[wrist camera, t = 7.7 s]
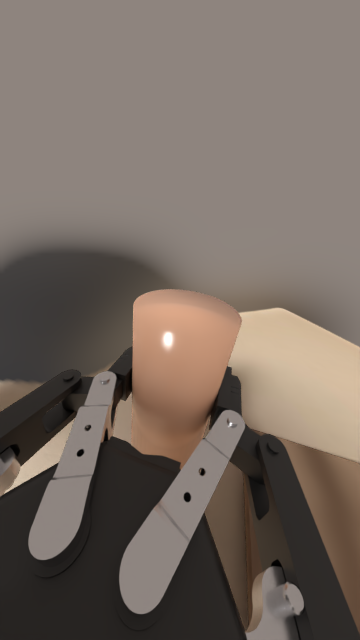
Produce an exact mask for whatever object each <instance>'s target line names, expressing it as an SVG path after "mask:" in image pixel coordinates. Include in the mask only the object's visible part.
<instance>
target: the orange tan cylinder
mask: <svg viewBox="0 0 360 640" xmlns="http://www.w3.org/2000/svg"><path fill="white" fill-rule="evenodd" d="M241 322H242V320H241V317H240V315H239V313H238V312H237V311H236V310H235V309H234V308H233V307H231V306H230V305H228V304H227V303H225V302H224V301H221V300H219V299H217V298H215V297H212V296H209V295H206V294H202V293H198V292H193V291H187V290H177V289H167V290H157V291H152V292H148V293H145V294H143V295H141V296H140V297H138V298H137V299H136V301H135V302H134V305H133V361H132V426H131V445H132V446H133V447H134V448H136V449H137V450H138V451H139V452H141V453H142V454H147V455H161V456H165V457H168V458H170V459H173V460H176V461H178V462H181V465H180V469H182V468H183V467H184V465H185V464H186V462H187V461H188V459H189V458H190V456H191V455H192V453H193V452H194V450H195V449H196V447H197V446H198V444H199V443H200V442H201V440H202V439H203V436H204V433H205V430H206V427H207V424H208V421H209V418H210V415H211V412H212V409H213V406H214V403H215V400H216V397H217V394H218V391H219V389H220V386H221V383H222V380H223V377H224V374H225V371H226V368H227V365H228V362H229V359H230V356H231V353H232V350H233V347H234V344H235V341H236V338H237V335H238V332H239V329H240V327H241Z"/></svg>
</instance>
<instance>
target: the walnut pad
mask: <svg viewBox="0 0 360 640" xmlns="http://www.w3.org/2000/svg"><path fill="white" fill-rule="evenodd" d="M251 430H253V429H251ZM253 431H254V432H256V433H257V434H259V435H260V436H262V435H263V434H266V433H263V432H260V431H256V430H253ZM276 438H278V437H276ZM278 439H279V440H280V441H281V442H282V443H283V444H284V446H285V448H286V450H287V452H288V455H289V457H290V460H291V462H292V465H293V467H294V470H295V472H296V475H297V477H298V480H299V483H300V485H301V488H302V490H303V493H304V495H305V498H306V500H307V503H308V505H309V508H310V510H311V513H312V515H313V518H314V520H315V523H316V525H317V528H318V530H319V533H320V536H321V538H322V541H323V543H324V546H325V548H326V551H327V553H328V556H329V558H330V561H331V563H332V566H333V568H334V571H335V573H336V576H337V578H338V581H339V583H340V586H341V589H342V591H343V594H344V596H345V599H346V601H347V604H348V606H349V609H350V611H351V614H352V616H353V619H354V621H355V624H356V626H357V629H358V631H359V634H360V463H356V462H353V461H350V460H347V459H344V458H341V457H338V456H335V455H331V454H328V453H325V452H322V451H319V450H316V449H313V448H310V447H306V446H303V445H300V444H297V443H294V442H291V441H288V440H285V439H281V438H278ZM244 499H245V529H246V559H247V589H248V619H249V625H250V622H251V619H252V613H253V603H252V587H253V583H254V580H255V578H256V577H257V575H259V574H260V573H262V567H261V561H260V556H259V551H258V545H257V540H256V535H255V530H254V524H253V519H252V514H251V509H250V503H249V498H248V493H247V487H246V482H245V477H244Z"/></svg>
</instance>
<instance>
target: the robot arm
mask: <svg viewBox="0 0 360 640" xmlns="http://www.w3.org/2000/svg"><path fill="white" fill-rule="evenodd" d="M132 361H133V346H132V347H131V348H128V349H127V350H126V351H125V352H124V353H123V355H121V356H120V358H119V359H118V360H117V361H116V362H115V363H114V364H113V365H112V366H111V368H110V369H109V370H108V371H105V372H101V373H99V374H97V375H96V376H95V377H81V373H80V372H79V371H77V370H67V371H64V372H62V373H60V374H59V375H57V376H56V377H54V378H53V379H51V380H50V381H48V382H46V383H45V384H43V385H42V386H40V387H39V388H37V389H35V390H34V391H32V392H31V393H29V394H28V395H26V396H25V397H23V398H21V399H20V400H18V401H17V402H15V403H14V404H12V405H10V406H9V407H7V408H6V409H4V410H3V411H1V412H0V640H360V634H359V631H358V629H357V626H356V624H355V621H354V619H353V616H352V614H351V611H350V609H349V606H348V604H347V601H346V599H345V596H344V594H343V591H342V589H341V586H340V583H339V581H338V578H337V576H336V573H335V571H334V568H333V566H332V563H331V561H330V558H329V556H328V553H327V551H326V548H325V546H324V543H323V541H322V538H321V536H320V533H319V530H318V528H317V525H316V523H315V520H314V518H313V515H312V513H311V510H310V508H309V505H308V503H307V500H306V498H305V495H304V493H303V490H302V488H301V485H300V483H299V480H298V477H297V475H296V472H295V470H294V467H293V465H292V462H291V460H290V457H289V455H288V452H287V450H286V448H285V446H284V444H283V443H282V442H281V441H280V440H279V439H278V438H276V437H275V436H273V435H270V434H263V435H262V436H260V435H259V434H257V433H256V432H254V431H253V430H251V429H250V428H249V427H248V426H247V425H246V424H245V422H244V420H243V418H242V414H241V383H240V381H239V379H238V377H237V376H233V375H231V370H232V368H231V367H228V366H227V368H226V371H225V374H224V377H223V380H222V383H221V386H220V389H219V391H218V394H217V397H216V400H215V403H214V406H213V409H212V412H211V418H210V425H209V430H210V431H209V433H208V434H207V436H206V437H205V438H203V439H202V440H201V442H200V443H199V444H198V446H197V447H196V449H195V450H194V452H193V453H192V455H191V456H190V458H189V459H188V461H187V462H186V464H185V465H184V467H183V468H182V469H180V465H181V462H178V461H176V460H173V459H170V458H168V457H165V456H161V455H147V454H142V453H141V452H139V451H138V450H137V449H136V448H134V447H133V446H132V445H131V444H129V443H128V442H126V441H124V440H121V439H118V438H116V437H113V430H114V424H115V418H116V413H117V407H118V403H119V401H120V400H124V401H126V400H127V398H128V396H129V395H130V393H131V392H132ZM60 401H61V402H60ZM59 402H60V403H59ZM55 405H56V406H55ZM51 408H52V409H51ZM47 411H48V412H47ZM46 412H47V413H46ZM75 417H76V418H75ZM74 418H75V421H74V423H73V426H72V429H71V432H70V434H69V437H68V440H67V442H66V445H65V448H64V450H63V453H62V456H61V458H60V461H59V463H57V464H55V465H54V466H52V467H50V468H48V469H47V470H45V471H43V472H41V473H40V474H38V475H36V476H35V477H33V478H31V479H29V480H28V481H26V482H24V483H22V484H21V485H19V486H17V487H15V488H14V489H12V490H10V491H9V492H7V493H5V494H4V492H5V491H6V490H7V489H9V488H10V487H11V486H12V485H13V483H14V480H15V479H16V477H17V476H18V474H19V471H20V467H21V466H22V465H23V464H24V463H25V462H26V461H27V460H29V459H30V458H31V457H32V456H33V455H34V454H35V453H36V452H37V451H38V450H40V449H41V448H42V447H43V446H44V445H45V444H46V443H47V442H48V441H50V440H51V439H52V438H53V437H54V436H55V435H56V434H57V433H58V432H60V431H61V430H62V429H63V428H64V427H65V426H66V425H67V424H68V423H70V422H71V421H72V420H73V419H74ZM229 461H230V462H232V463H233V464H234V465H235V466H237V467H238V468H239V469H241V470H242V471H243V472H244V477H245V482H246V487H247V493H248V498H249V503H250V509H251V514H252V519H253V524H254V530H255V535H256V540H257V545H258V551H259V556H260V561H261V567H262V573H260V574H259V575H257V577H256V578H255V580H254V583H253V587H252V603H253V613H252V619H251V622H250V625H249V627H248V629H247V630H246V631H245V630H244V627H243V624H242V621H241V618H240V615H239V612H238V609H237V606H236V604H235V601H234V598H233V595H232V592H231V589H230V586H229V583H228V580H227V577H226V575H225V572H224V569H223V566H222V563H221V560H220V557H219V554H218V551H217V548H216V546H215V543H214V540H213V537H212V534H211V531H210V528H209V525H208V522H207V519H206V516H205V514H204V511H205V509H206V507H207V505H208V503H209V501H210V499H211V497H212V495H213V493H214V491H215V489H216V487H217V484H218V482H219V480H220V478H221V476H222V474H223V472H224V470H225V468H226V466H227V464H228V462H229Z"/></svg>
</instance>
